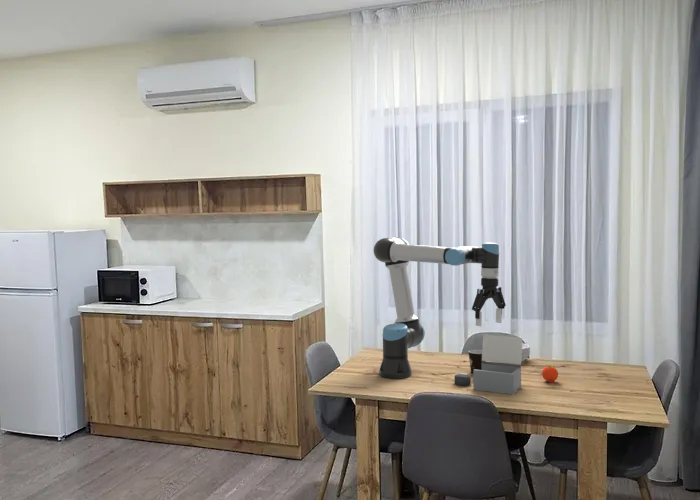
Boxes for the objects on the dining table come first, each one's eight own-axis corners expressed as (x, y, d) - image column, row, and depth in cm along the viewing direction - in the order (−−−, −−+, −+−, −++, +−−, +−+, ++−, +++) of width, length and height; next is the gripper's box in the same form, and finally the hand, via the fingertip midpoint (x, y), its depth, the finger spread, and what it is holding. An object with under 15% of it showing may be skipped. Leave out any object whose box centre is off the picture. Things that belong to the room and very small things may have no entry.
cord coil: (452, 385, 274) (452, 374, 274) (457, 381, 280) (457, 370, 280) (467, 386, 271) (467, 376, 270) (472, 383, 277) (472, 372, 276)
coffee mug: (487, 375, 289) (487, 354, 288) (468, 374, 291) (468, 353, 290) (486, 369, 300) (486, 348, 300) (468, 368, 302) (468, 348, 301)
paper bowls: (533, 363, 310) (533, 347, 310) (503, 363, 310) (503, 348, 310) (525, 356, 325) (525, 341, 325) (496, 356, 326) (496, 341, 325)
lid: (483, 334, 277) (484, 334, 279) (481, 360, 276) (482, 360, 278) (521, 338, 269) (522, 337, 271) (520, 364, 268) (521, 364, 270)
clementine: (547, 378, 283) (547, 362, 282) (562, 381, 278) (562, 365, 278) (539, 381, 277) (539, 365, 277) (553, 384, 272) (553, 368, 272)
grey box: (473, 389, 266) (473, 367, 265) (482, 381, 278) (482, 360, 277) (513, 394, 258) (513, 371, 257) (521, 386, 270) (521, 364, 269)
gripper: (477, 279, 267) (476, 328, 268) (514, 276, 282) (513, 322, 283) (464, 278, 273) (463, 325, 274) (501, 274, 288) (500, 320, 289)
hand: (488, 324), depth 279 cm, fingers open, 13 cm apart
